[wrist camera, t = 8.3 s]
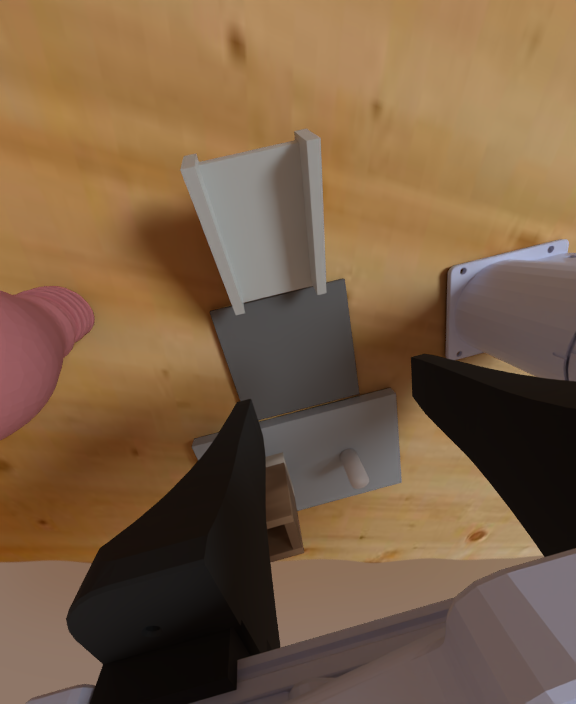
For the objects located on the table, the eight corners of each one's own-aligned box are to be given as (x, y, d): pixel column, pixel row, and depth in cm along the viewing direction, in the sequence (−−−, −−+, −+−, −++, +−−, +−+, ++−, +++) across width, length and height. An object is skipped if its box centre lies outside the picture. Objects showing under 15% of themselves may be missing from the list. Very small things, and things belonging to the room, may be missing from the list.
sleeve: (282, 452, 24) (291, 515, 18) (292, 486, 26) (304, 552, 20) (234, 465, 24) (229, 532, 18) (248, 498, 25) (247, 568, 20)
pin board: (390, 387, 24) (415, 414, 20) (396, 474, 28) (418, 509, 25) (194, 438, 23) (183, 475, 20) (231, 519, 28) (228, 561, 24)
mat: (342, 278, 20) (344, 279, 19) (357, 391, 24) (359, 393, 23) (210, 310, 19) (209, 312, 19) (248, 419, 23) (247, 422, 23)
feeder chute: (295, 150, 16) (316, 107, 11) (318, 287, 19) (343, 304, 14) (197, 173, 16) (170, 140, 11) (237, 307, 19) (232, 331, 14)
